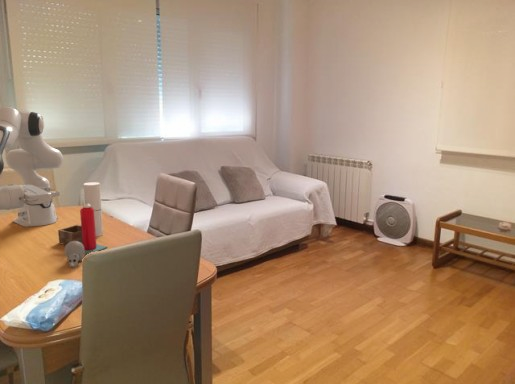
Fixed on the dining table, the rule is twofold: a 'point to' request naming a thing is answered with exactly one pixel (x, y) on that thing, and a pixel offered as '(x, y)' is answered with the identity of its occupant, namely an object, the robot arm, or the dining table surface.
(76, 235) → the brown open wooden box
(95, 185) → the cylindrical container
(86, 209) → the red bottle
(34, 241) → the dining table surface
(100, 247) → the mat
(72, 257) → the grey animal figurine
